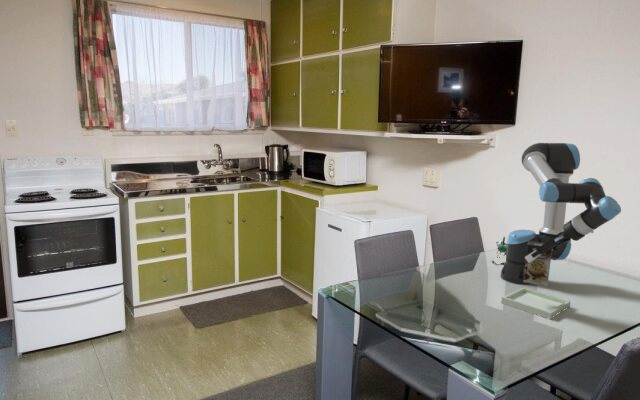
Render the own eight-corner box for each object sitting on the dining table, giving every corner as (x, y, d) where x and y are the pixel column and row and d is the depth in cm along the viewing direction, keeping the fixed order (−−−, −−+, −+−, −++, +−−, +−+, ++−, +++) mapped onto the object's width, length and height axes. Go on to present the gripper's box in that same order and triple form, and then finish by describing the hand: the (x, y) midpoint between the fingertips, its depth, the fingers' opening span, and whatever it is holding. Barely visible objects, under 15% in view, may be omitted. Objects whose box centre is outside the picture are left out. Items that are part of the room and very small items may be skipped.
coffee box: (523, 282, 188) (526, 244, 185) (524, 277, 193) (528, 240, 190) (548, 286, 184) (552, 247, 181) (548, 281, 189) (552, 243, 186)
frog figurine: (520, 260, 248) (521, 235, 244) (500, 270, 238) (501, 244, 234) (504, 256, 255) (505, 230, 251) (484, 265, 245) (485, 239, 241)
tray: (501, 302, 192) (501, 297, 192) (522, 292, 203) (522, 287, 203) (550, 319, 177) (550, 313, 177) (569, 307, 188) (570, 301, 188)
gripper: (573, 240, 165) (525, 271, 180) (596, 231, 179) (550, 260, 194) (559, 223, 168) (513, 254, 183) (583, 215, 182) (539, 245, 197)
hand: (532, 257), depth 188 cm, fingers closed on coffee box, 9 cm apart
